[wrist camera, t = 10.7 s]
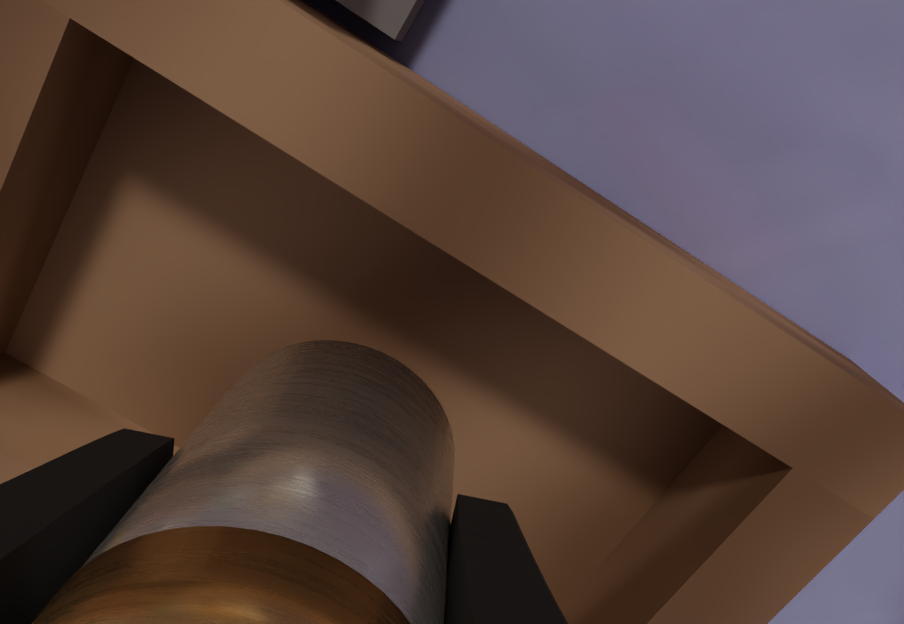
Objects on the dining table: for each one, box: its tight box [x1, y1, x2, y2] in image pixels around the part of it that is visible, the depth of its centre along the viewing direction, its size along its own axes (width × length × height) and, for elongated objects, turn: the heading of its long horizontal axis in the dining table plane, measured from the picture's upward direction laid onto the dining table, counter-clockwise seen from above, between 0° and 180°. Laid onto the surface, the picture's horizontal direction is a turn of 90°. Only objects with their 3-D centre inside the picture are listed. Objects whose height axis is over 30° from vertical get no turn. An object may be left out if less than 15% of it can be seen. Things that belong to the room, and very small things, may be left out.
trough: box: [0, 0, 904, 624], centre depth 12 cm, size 15×10×3 cm, turn 58°
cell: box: [31, 340, 455, 624], centre depth 7 cm, size 3×3×6 cm
